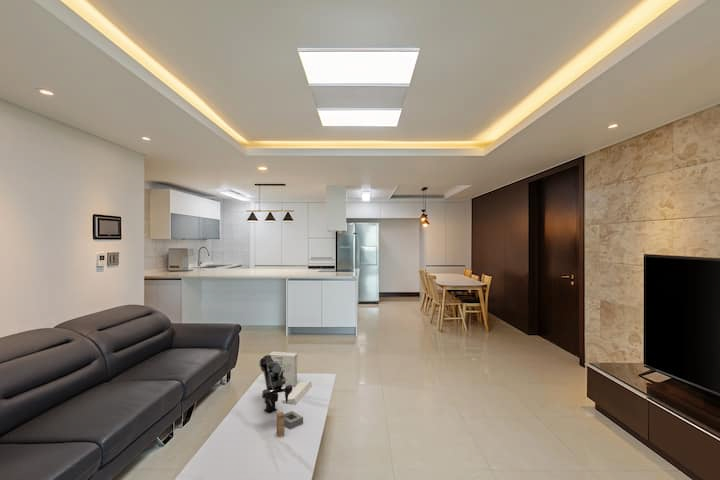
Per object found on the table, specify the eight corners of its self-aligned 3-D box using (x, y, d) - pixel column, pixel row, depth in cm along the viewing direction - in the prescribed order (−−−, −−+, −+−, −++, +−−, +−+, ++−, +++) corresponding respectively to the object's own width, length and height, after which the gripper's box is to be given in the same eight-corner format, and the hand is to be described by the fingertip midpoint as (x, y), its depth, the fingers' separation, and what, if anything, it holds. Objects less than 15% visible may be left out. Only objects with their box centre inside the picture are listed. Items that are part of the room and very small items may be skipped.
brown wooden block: (276, 432, 213) (276, 412, 213) (282, 431, 214) (282, 411, 214) (278, 436, 208) (278, 415, 208) (284, 435, 210) (284, 414, 210)
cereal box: (268, 384, 285) (269, 354, 286) (272, 381, 293) (272, 351, 293) (293, 386, 282) (294, 355, 282) (296, 383, 289) (297, 353, 290)
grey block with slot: (279, 422, 225) (279, 416, 225) (292, 417, 232) (292, 410, 233) (290, 429, 217) (290, 422, 217) (303, 423, 224) (303, 417, 224)
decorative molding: (283, 407, 252) (295, 405, 250) (281, 400, 253) (294, 398, 251) (301, 388, 286) (312, 386, 284) (299, 382, 286) (310, 380, 284)
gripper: (262, 376, 221) (266, 400, 210) (291, 372, 229) (296, 395, 219) (260, 386, 227) (263, 409, 217) (288, 381, 236) (293, 403, 225)
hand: (279, 404), depth 219 cm, fingers open, 9 cm apart
